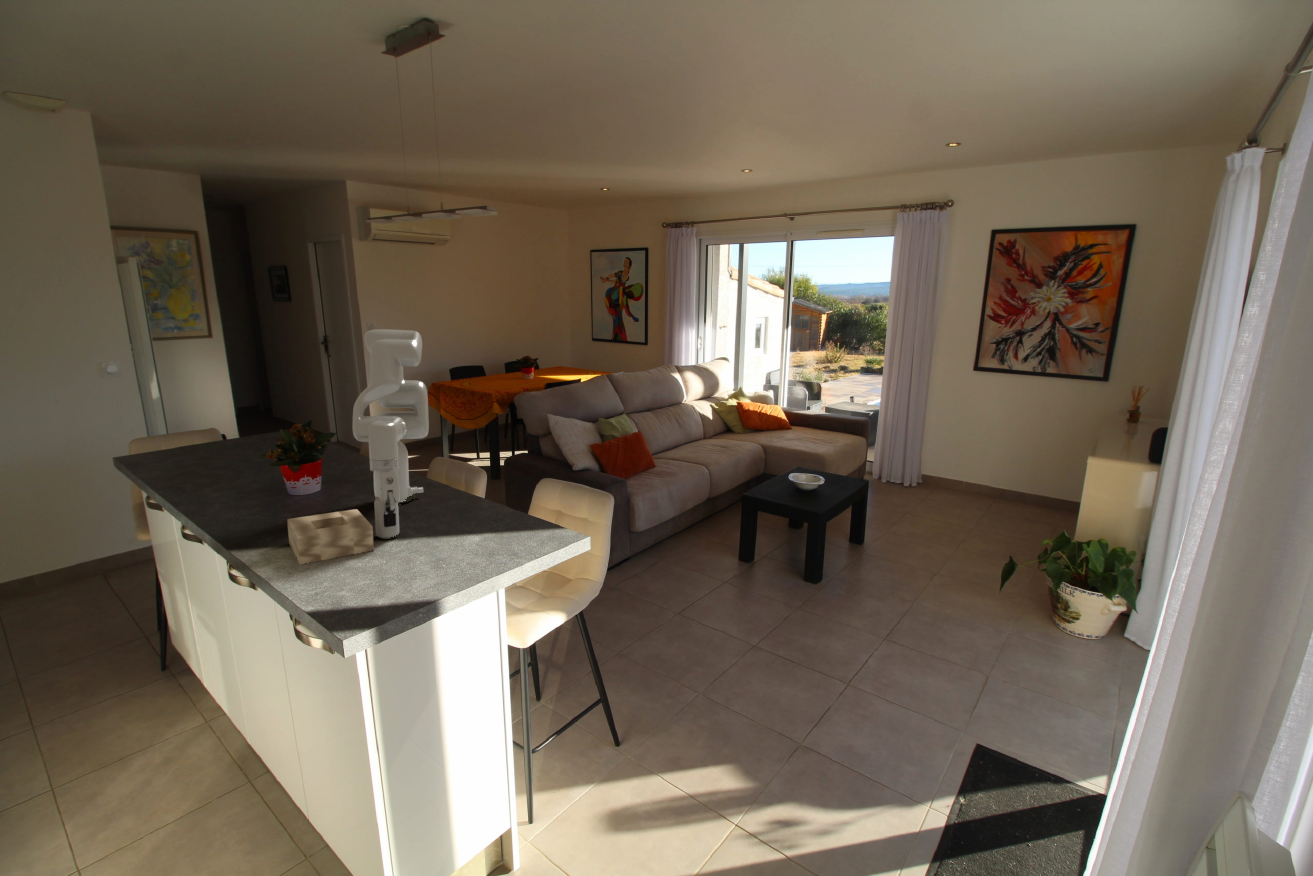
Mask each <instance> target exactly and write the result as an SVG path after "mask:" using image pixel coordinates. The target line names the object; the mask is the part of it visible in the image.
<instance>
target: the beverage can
mask: <svg viewBox="0 0 1313 876" xmlns="http://www.w3.org/2000/svg"><path fill="white" fill-rule="evenodd" d="M374 498H375V499H376V500H374V501H373V504H374V506H373V507H374V524H375V526H374V527H375V536H377V537H379V538H380V539H383V540H384V539H385V540H386V539H387V540H388V539H392V538H391V537H393V538H395V537H397V536H398V535H399V533H400V516H399V505H398V503H397V502H396V501H395V499H394V501H395V511H396V525H395V526H391V527H384V514H385V512H384V505H383V504H382V503H381V502H380V500H379V499H378V498H377V497H374ZM385 502H386V503H389V501H385ZM388 507H389V505H387V508H388ZM396 535H397V536H396ZM394 536H395V537H394Z"/></svg>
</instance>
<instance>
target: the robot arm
mask: <svg viewBox="0 0 1313 876" xmlns="http://www.w3.org/2000/svg"><path fill="white" fill-rule="evenodd" d="M422 338H423V337H422V336H421V333H419V332H418V331H417V330H411V329H410V330H407V329H406V330H405V329H383V328H382V329H371V330H368V331H366V332H365V333H364V344H365V348H366V349H367V352H368V353H369V356H370V359H369V365H370V368H369V369H370V370H369V385H368V386H367V387H366V388H365V389H363V390H362V391H361V393H360V394H359V395H358V397H357V398H356V400H355V402H354V405H353V410H352V434H353V437H354V438H355V440H357V442H361V443H362V442H363V443H364V442H365V443H368V453H369V454H368V455H369V470H370V471H371V472H373V491H374V498H376V497H377V498H378V499H379V500H380V502H381V503H382V504H383V505H384V512H385V514H384V527H391V526H395V525H396V511H395V501H396V502H397V503H399V502H403V501H406V500H405V499H407V497H409V496H412V495H413V494H414V495H415V494H422V493H424V490H425V489H424V487H423V486H421V487H418V486H410V474H409V473H410V472H409V471H410V470H409V453H408V449H407V447H406V446H405V445H404V443H402V441H401V440H414V439H418V440H419V439H424V438H426V437H427V436H428V434H429V432H430V431H429V430H430V428H429V427H430V424H429V423H430V422H429V421H430V420H429V399H428V388H427V385H426V384H425V382H423V381H420V380H415V379H414V380H413V379H412V380H411V379H410V380H409V379H408V380H407V379H404V377H405V376H404V367H413V368H414V367H418V366H419V365H420V363H421V361H422V351H423V339H422ZM375 401H378V404H379V406H380V407H383V408H390V409H408V408H409V409H413V410H414V411H385V412H384V411H383V412H380V413H378V414H377V415H374V416H371V415H370V416H368V415H367V416H364V413H365V411H366V409H367V407H368V406H369V405H370V404H372V403H373V402H375ZM394 499H395V501H394ZM375 500H376V499H375ZM375 500H374V501H375ZM385 501H389V503H386V502H385ZM387 505H389V507H388V508H387Z"/></svg>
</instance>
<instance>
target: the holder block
mask: <svg viewBox="0 0 1313 876" xmlns="http://www.w3.org/2000/svg"><path fill="white" fill-rule="evenodd" d="M286 520H287V521H286V522H287V533H288V544H289V546H290V548H291V550H292V552H293V555H294V556H295V558H296V557H297V558H296V561H297V562H298V564H299V565H306V564H310V562H311V563H316V562H321V561H325V560H332V558H333V559H336V558H335V557H338V558H342V557H341V556H343V557H347V556H346V555H349V556H351V555H350V554H354V555H356V554H355V553H359V554H362V553H361V552H365V553H367V552H366V551H370V550H374V530H373V525H372V524H371V523H370V521H368V520H367V518H366V517H365V516H364V515H363V514H362V513H361V512H360V511H359V510H358V509H357V508H356V509H355V508H353V509H348V510H340V511H334V512H328V513H322V514H321V513H320V514H313V515H306V516H299V517H294V518H293V517H292V518H287V519H286ZM370 552H371V551H370ZM305 563H306V564H305Z"/></svg>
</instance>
